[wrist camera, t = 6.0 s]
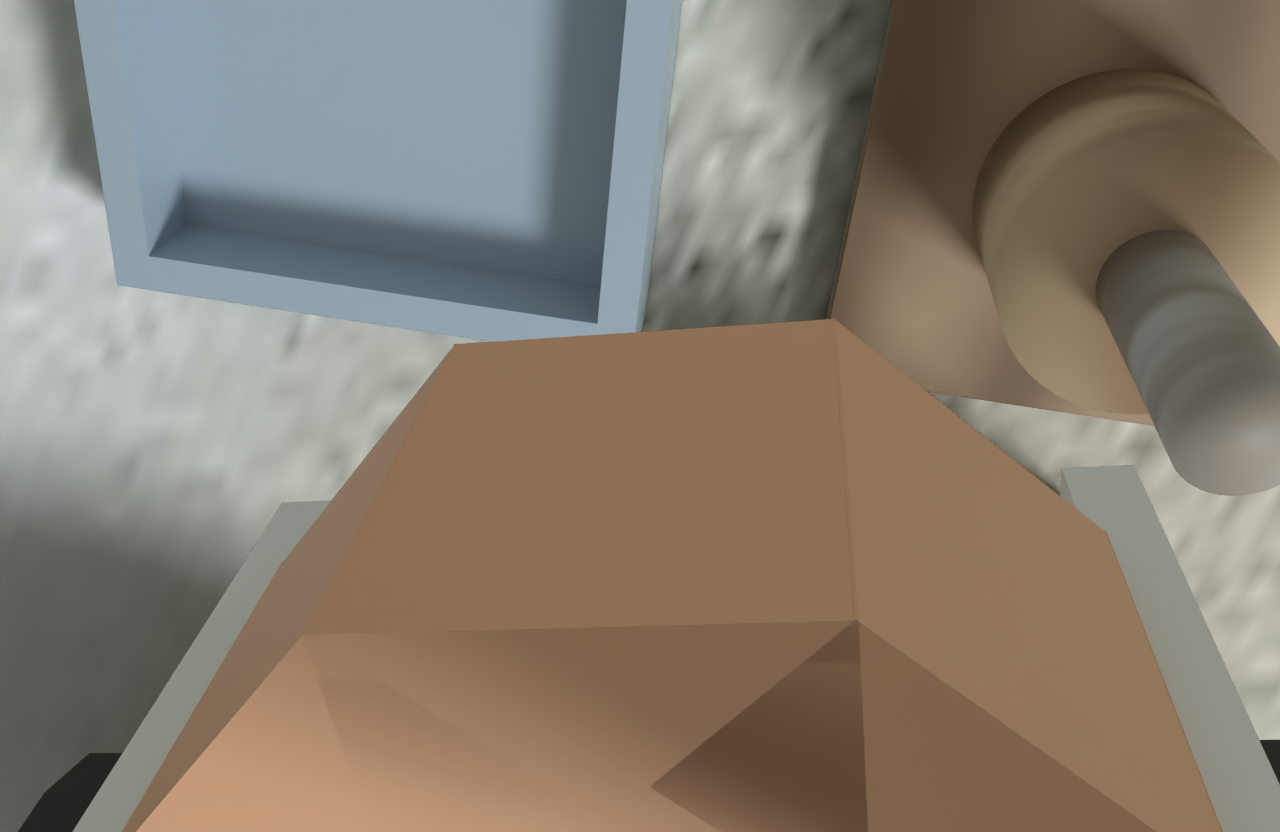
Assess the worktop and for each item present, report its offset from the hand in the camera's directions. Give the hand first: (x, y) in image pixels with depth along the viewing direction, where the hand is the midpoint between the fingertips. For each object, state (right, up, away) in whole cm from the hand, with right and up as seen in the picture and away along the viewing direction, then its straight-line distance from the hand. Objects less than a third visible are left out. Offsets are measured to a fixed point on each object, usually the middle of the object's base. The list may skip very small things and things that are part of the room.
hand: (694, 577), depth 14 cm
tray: (-7, +12, +16) cm, 21 cm away
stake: (+11, +8, +15) cm, 20 cm away
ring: (0, -1, -1) cm, 2 cm away
